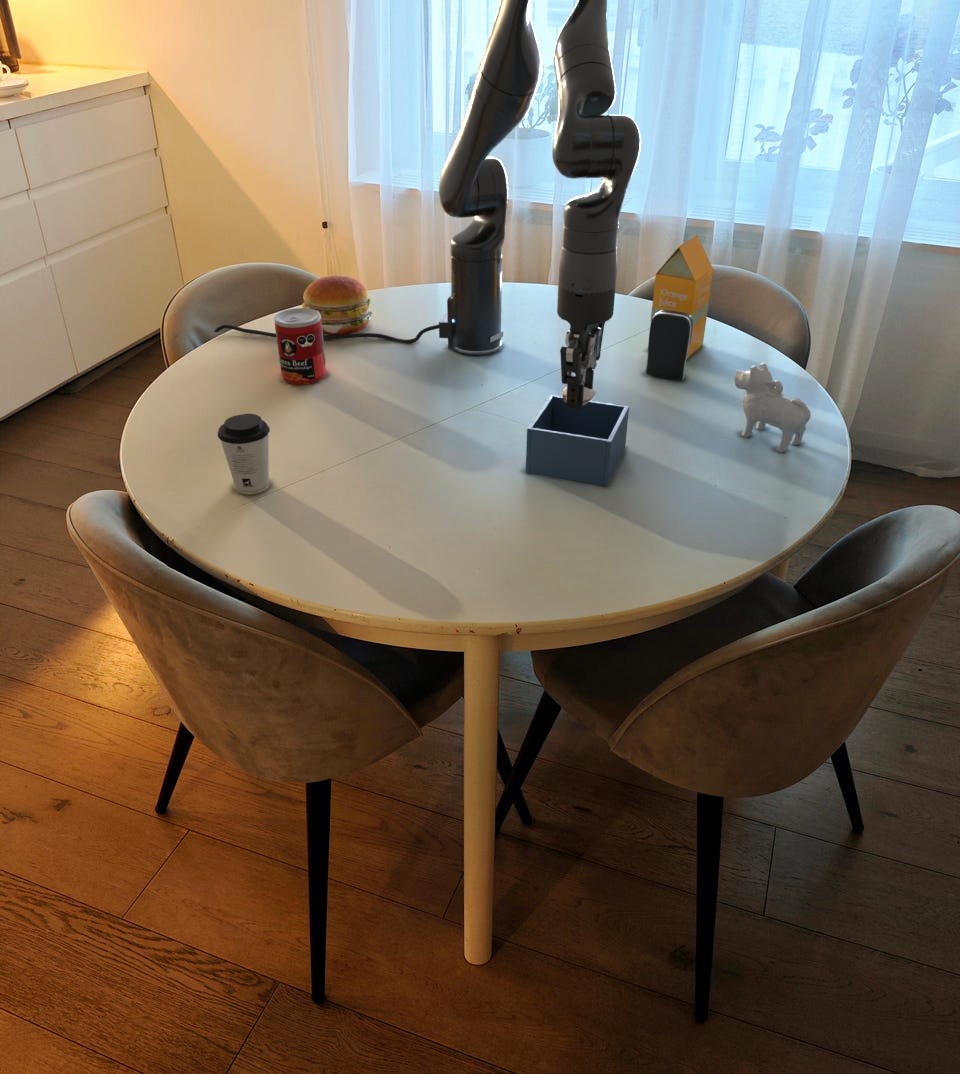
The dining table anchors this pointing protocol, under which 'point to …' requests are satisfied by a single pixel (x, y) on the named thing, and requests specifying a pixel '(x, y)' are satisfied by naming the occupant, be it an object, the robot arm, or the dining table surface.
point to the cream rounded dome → (586, 397)
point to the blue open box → (577, 440)
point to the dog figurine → (771, 406)
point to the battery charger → (669, 344)
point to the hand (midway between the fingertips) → (579, 400)
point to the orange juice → (686, 287)
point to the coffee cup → (246, 452)
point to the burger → (339, 304)
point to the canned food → (300, 345)
